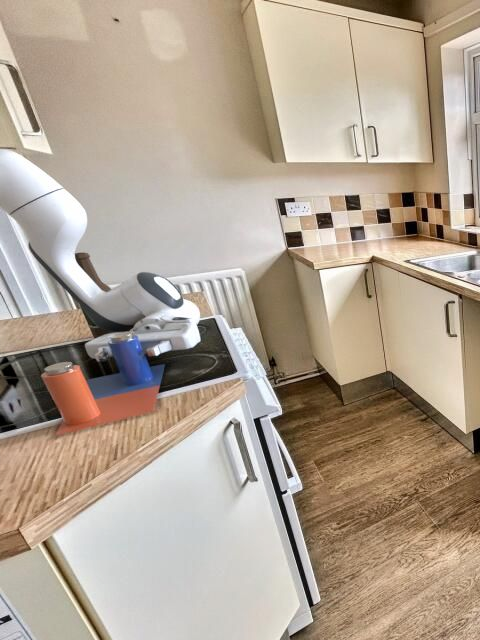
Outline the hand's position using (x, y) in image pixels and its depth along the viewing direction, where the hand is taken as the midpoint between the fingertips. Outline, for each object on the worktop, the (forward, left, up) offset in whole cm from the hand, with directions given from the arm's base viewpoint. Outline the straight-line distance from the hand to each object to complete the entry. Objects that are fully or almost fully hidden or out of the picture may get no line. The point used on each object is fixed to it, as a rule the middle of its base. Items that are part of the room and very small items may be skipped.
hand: (125, 355), depth 91 cm
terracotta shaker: (-7, -13, -7) cm, 16 cm away
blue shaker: (0, +1, -7) cm, 7 cm away
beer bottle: (-10, +40, -7) cm, 42 cm away
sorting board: (-3, -5, -7) cm, 9 cm away
